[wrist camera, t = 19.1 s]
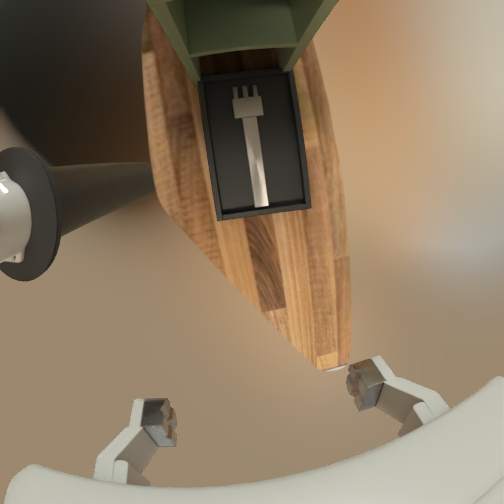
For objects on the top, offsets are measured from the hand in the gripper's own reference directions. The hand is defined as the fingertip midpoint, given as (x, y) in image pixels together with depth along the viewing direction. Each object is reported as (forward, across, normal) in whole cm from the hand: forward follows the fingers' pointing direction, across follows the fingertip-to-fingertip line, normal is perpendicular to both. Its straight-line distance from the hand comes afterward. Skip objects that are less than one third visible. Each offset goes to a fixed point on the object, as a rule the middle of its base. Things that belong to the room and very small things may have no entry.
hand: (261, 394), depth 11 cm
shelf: (+34, -5, -26) cm, 43 cm away
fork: (+32, -6, -8) cm, 34 cm away
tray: (+33, -6, -10) cm, 35 cm away
